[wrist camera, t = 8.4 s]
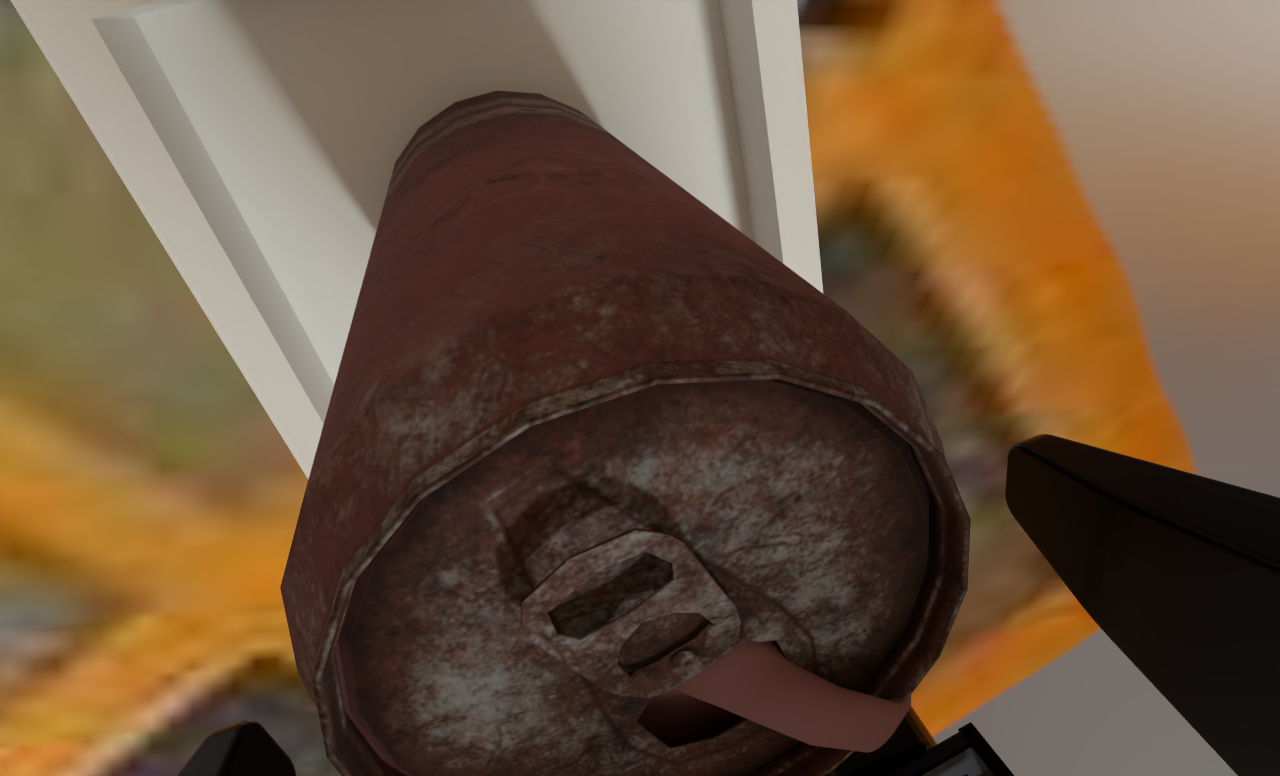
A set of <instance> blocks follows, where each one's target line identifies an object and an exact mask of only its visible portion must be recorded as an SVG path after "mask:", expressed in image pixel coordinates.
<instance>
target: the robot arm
mask: <svg viewBox="0 0 1280 776" xmlns="http://www.w3.org/2000/svg"><path fill="white" fill-rule="evenodd" d="M1005 495H1006V501H1007V505H1008V507H1009V509H1010V511H1011V513H1012V515H1013V516H1014V518H1015V519H1016V520H1017V522H1018V523H1019V524H1020V525H1021V527H1022V528H1023V529H1024V531H1025V532H1026V533H1027V535H1028V536H1029V537H1030V539H1031V540H1032V541H1033V542H1034V544H1035V545H1036V546H1037V548H1038V549H1039V550H1040V552H1041V553H1042V554H1043V556H1044V557H1045V558H1046V559H1047V561H1048V562H1049V563H1050V565H1051V566H1052V567H1053V569H1054V570H1055V571H1056V573H1057V574H1058V575H1059V576H1060V578H1061V579H1062V580H1063V582H1064V583H1065V584H1066V586H1067V587H1068V588H1069V589H1070V591H1071V592H1072V593H1073V595H1074V596H1075V597H1076V599H1077V600H1078V601H1079V603H1080V604H1081V605H1082V606H1083V607H1084V609H1085V610H1086V611H1087V612H1088V614H1089V615H1090V616H1091V617H1092V619H1093V620H1094V621H1095V622H1096V623H1097V624H1098V625H1099V626H1100V628H1101V629H1102V630H1103V631H1104V632H1105V633H1106V634H1107V635H1108V636H1109V638H1110V639H1111V640H1112V641H1113V642H1114V643H1115V644H1116V645H1117V646H1118V647H1119V648H1120V649H1121V650H1122V652H1123V653H1124V654H1125V655H1126V656H1127V657H1128V658H1129V659H1130V660H1131V661H1132V662H1133V663H1134V665H1135V666H1136V667H1137V668H1138V669H1139V670H1140V671H1141V672H1142V673H1143V674H1144V675H1145V676H1146V677H1147V678H1148V680H1149V681H1150V682H1151V683H1152V684H1153V685H1154V686H1155V687H1156V688H1157V689H1158V690H1159V691H1160V692H1161V693H1162V695H1163V696H1164V697H1165V698H1166V699H1167V700H1168V701H1169V702H1170V703H1171V704H1172V705H1173V706H1174V707H1175V709H1177V711H1178V712H1179V713H1180V714H1181V715H1182V716H1183V717H1184V718H1185V719H1186V720H1187V721H1188V722H1189V724H1190V725H1191V726H1192V727H1193V728H1194V729H1195V730H1196V731H1197V732H1198V733H1199V734H1200V735H1201V736H1202V737H1203V739H1204V740H1205V741H1206V742H1207V743H1208V744H1209V745H1210V746H1211V747H1212V748H1213V749H1214V750H1215V751H1216V753H1217V754H1218V755H1219V756H1220V757H1221V758H1222V759H1223V760H1224V761H1225V762H1226V763H1227V764H1228V765H1229V766H1230V768H1231V769H1232V770H1233V771H1234V772H1235V773H1236V774H1237V775H1238V776H1280V498H1279V497H1275V496H1271V495H1268V494H1264V493H1260V492H1256V491H1253V490H1249V489H1246V488H1242V487H1239V486H1235V485H1231V484H1227V483H1224V482H1220V481H1217V480H1213V479H1210V478H1206V477H1202V476H1199V475H1195V474H1191V473H1188V472H1184V471H1180V470H1177V469H1173V468H1170V467H1166V466H1162V465H1159V464H1155V463H1151V462H1148V461H1144V460H1140V459H1137V458H1133V457H1130V456H1126V455H1122V454H1119V453H1115V452H1111V451H1108V450H1104V449H1100V448H1097V447H1093V446H1089V445H1086V444H1082V443H1079V442H1075V441H1071V440H1068V439H1064V438H1060V437H1057V436H1053V435H1048V434H1043V435H1038V436H1035V437H1032V438H1029V439H1026V440H1024V441H1021V442H1018V443H1016V444H1014V445H1013V446H1012V447H1011V449H1010V450H1009V454H1008V464H1007V478H1006V492H1005ZM958 731H959V732H958V733H957V734H955V735H953V736H951V737H950V738H948V739H946V740H944V741H943V742H941V743H939V744H937V743H936V742H935V740H934V739H933V737H932V736H931V734H930V733H929V731H928V730H927V728H926V727H925V725H924V724H923V722H922V721H921V720H920V718H919V717H918V715H917V714H916V712H915V711H914V709H913V708H912V706H911V705H910V707H909V710H908V712H907V713H906V715H905V717H904V718H903V720H902V721H901V723H900V724H899V726H898V727H897V729H896V730H895V732H894V733H893V734H892V736H891V737H890V738H889V739H888V740H887V741H886V743H884V744H883V745H882V746H881V747H880V748H878V749H876V750H875V751H873V752H868V753H867V752H859V751H854V752H853V753H852V754H851V755H850V756H849V757H848V758H846V759H845V760H844V761H843V762H842V763H841V764H840V765H838V766H837V767H836V768H835V769H834V770H832V771H831V772H829V773H827V774H826V775H824V776H1014V775H1013V774H1012V772H1011V771H1010V770H1009V769H1008V767H1007V766H1006V765H1005V764H1004V762H1003V761H1002V760H1001V759H1000V757H999V756H998V755H997V754H996V753H995V752H994V750H993V749H992V748H991V746H990V745H989V744H988V743H987V741H986V740H985V739H984V738H983V736H982V735H981V734H980V733H979V732H978V730H977V729H976V728H975V727H974V726H973V724H972V723H971V722H970V723H968V724H966V725H965V726H963V727H961V728H959V729H958ZM177 776H296V773H295V769H294V765H293V763H292V761H291V759H290V758H289V756H288V755H287V754H286V753H285V752H284V751H283V749H282V748H281V747H280V746H279V745H278V744H277V743H276V741H275V740H274V739H273V738H272V737H271V736H270V735H269V733H268V732H267V731H266V730H265V729H264V728H263V726H262V725H261V724H260V723H258V722H257V721H254V720H251V719H250V720H244V721H241V722H239V723H236V724H233V725H230V726H227V727H225V728H222V729H219V730H217V731H215V732H213V733H211V734H210V735H209V736H208V737H207V738H206V739H205V740H204V741H203V743H202V744H201V745H200V746H199V748H198V749H197V750H196V752H195V753H194V754H193V756H192V757H191V758H190V760H189V761H188V762H187V763H186V765H185V766H184V767H183V769H182V770H181V771H180V773H179V774H178V775H177Z"/></svg>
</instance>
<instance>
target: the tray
mask: <svg viewBox="0 0 1280 776" xmlns="http://www.w3.org/2000/svg"><path fill="white" fill-rule="evenodd" d="M11 2H12V4H13V5H14V7H15V8H16V10H17V12H18V13H19V15H20V17H21V18H22V20H23V21H24V23H25V25H26V26H27V28H28V29H29V31H30V33H31V34H32V36H33V37H34V39H35V41H36V42H37V44H38V45H39V47H40V49H41V50H42V52H43V54H44V55H45V57H46V58H47V60H48V62H49V63H50V65H51V66H52V68H53V70H54V71H55V73H56V74H57V76H58V78H59V79H60V81H61V82H62V84H63V86H64V87H65V89H66V91H67V92H68V94H69V95H70V97H71V99H72V100H73V102H74V103H75V105H76V107H77V108H78V110H79V111H80V113H81V115H82V116H83V118H84V119H85V121H86V123H87V124H88V126H89V128H90V129H91V131H92V132H93V134H94V136H95V137H96V139H97V140H98V142H99V144H100V145H101V147H102V148H103V150H104V152H105V153H106V155H107V156H108V158H109V160H110V161H111V163H112V164H113V166H114V168H115V169H116V171H117V173H118V174H119V176H120V177H121V179H122V181H123V182H124V184H125V185H126V187H127V189H128V190H129V192H130V193H131V195H132V197H133V198H134V200H135V201H136V203H137V205H138V206H139V208H140V210H141V211H142V213H143V214H144V216H145V218H146V219H147V221H148V222H149V224H150V226H151V227H152V229H153V230H154V232H155V234H156V235H157V237H158V238H159V240H160V242H161V243H162V245H163V247H164V248H165V250H166V251H167V253H168V255H169V256H170V258H171V259H172V261H173V263H174V264H175V266H176V267H177V269H178V271H179V272H180V274H181V275H182V277H183V279H184V280H185V282H186V284H187V285H188V287H189V288H190V290H191V292H192V293H193V295H194V296H195V298H196V300H197V301H198V303H199V304H200V306H201V308H202V309H203V311H204V312H205V314H206V316H207V317H208V319H209V321H210V322H211V324H212V325H213V327H214V329H215V330H216V332H217V333H218V335H219V337H220V338H221V340H222V341H223V343H224V345H225V346H226V348H227V349H228V351H229V353H230V354H231V356H232V357H233V359H234V361H235V362H236V364H237V366H238V367H239V369H240V370H241V372H242V374H243V375H244V377H245V378H246V380H247V382H248V383H249V385H250V386H251V388H252V390H253V391H254V393H255V394H256V396H257V398H258V399H259V401H260V403H261V404H262V406H263V407H264V409H265V411H266V412H267V414H268V415H269V417H270V419H271V420H272V422H273V423H274V425H275V427H276V428H277V430H278V431H279V433H280V435H281V436H282V438H283V440H284V441H285V443H286V444H287V446H288V448H289V449H290V451H291V452H292V454H293V456H294V457H295V459H296V460H297V462H298V464H299V465H300V467H301V468H302V470H303V472H304V473H305V475H306V477H307V478H308V480H309V476H310V472H311V469H312V465H313V461H314V458H315V454H316V450H317V447H318V443H319V439H320V436H321V432H322V428H323V425H324V421H325V417H326V414H327V410H328V406H329V403H330V399H331V395H332V392H333V388H334V385H335V381H336V377H337V374H338V370H339V366H340V363H341V359H342V355H343V352H344V348H345V344H346V341H347V337H348V333H349V330H350V326H351V322H352V319H353V315H354V311H355V308H356V304H357V300H358V297H359V293H360V289H361V286H362V282H363V278H364V275H365V271H366V267H367V264H368V260H369V257H370V253H371V249H372V246H373V242H374V238H375V235H376V231H377V227H378V224H379V220H380V216H381V213H382V209H383V205H384V202H385V198H386V194H387V191H388V187H389V183H390V180H391V176H392V172H393V169H394V165H395V162H396V160H397V159H398V158H399V156H400V155H401V153H402V152H403V150H404V149H405V147H406V146H407V144H408V143H409V142H410V140H411V139H412V137H413V136H414V134H415V133H416V131H417V130H418V128H419V127H420V126H422V125H423V124H425V123H426V122H427V121H429V120H430V119H432V118H433V117H434V116H436V115H437V114H439V113H440V112H441V111H443V110H444V109H446V108H447V107H449V106H450V105H451V104H453V103H454V102H457V101H461V100H464V99H468V98H472V97H475V96H479V95H482V94H486V93H490V92H493V91H510V92H524V93H539V94H542V95H544V96H547V97H549V98H551V99H554V100H556V101H559V102H561V103H563V104H566V105H568V106H570V107H573V108H575V109H578V110H579V111H581V112H582V113H583V114H585V115H586V116H587V117H589V118H590V119H591V120H593V121H594V122H595V123H597V124H598V125H599V126H601V127H602V128H603V129H605V130H606V131H607V132H609V133H610V134H611V135H613V136H614V137H615V138H617V139H618V140H619V141H621V142H622V143H623V144H625V145H626V146H627V147H629V148H630V149H631V150H633V151H634V152H635V153H637V154H638V155H639V156H641V157H642V158H643V159H645V160H646V161H647V162H649V163H650V164H651V165H653V166H654V167H655V168H657V169H658V170H659V171H661V172H662V173H663V174H665V175H666V176H667V177H669V178H670V179H671V180H673V181H674V182H675V183H677V184H678V185H679V186H681V187H682V188H683V189H685V190H686V191H687V192H689V193H690V194H691V195H693V196H694V197H695V198H697V199H698V200H699V201H701V202H702V203H703V204H705V205H706V206H707V207H709V208H710V209H711V210H713V211H714V212H715V213H717V214H718V215H719V216H721V217H722V218H723V219H725V220H726V221H727V222H729V223H730V224H731V225H733V226H734V227H735V228H737V229H738V230H739V231H740V232H742V233H743V234H744V235H746V236H747V237H748V238H750V239H751V240H752V241H754V242H755V243H756V244H758V245H759V246H760V247H762V248H763V249H764V250H766V251H767V252H768V253H770V254H771V255H772V256H774V257H775V258H776V259H778V260H779V261H780V262H782V263H783V264H784V265H786V266H787V267H788V268H790V269H791V270H792V271H794V272H795V273H796V274H798V275H799V276H800V277H802V278H803V279H804V280H806V281H807V282H808V283H810V284H811V285H812V286H814V287H815V288H816V289H818V290H819V291H820V292H822V293H823V286H822V275H821V264H820V252H819V241H818V230H817V219H816V208H815V197H814V186H813V175H812V164H811V152H810V141H809V130H808V119H807V108H806V97H805V86H804V75H803V64H802V53H801V41H800V30H799V19H798V8H797V0H11Z"/></svg>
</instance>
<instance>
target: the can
mask: <svg viewBox="0 0 1280 776" xmlns="http://www.w3.org/2000/svg"><path fill="white" fill-rule="evenodd" d="M969 541H970V517H969V515H968V513H967V510H966V508H965V505H964V503H963V501H962V498H961V496H960V493H959V491H958V489H957V486H956V484H955V481H954V479H953V477H952V474H951V472H950V469H949V467H948V465H947V462H946V460H945V455H944V450H943V445H942V442H941V440H940V437H939V435H938V432H937V430H936V427H935V425H934V423H933V420H932V418H931V415H930V413H929V410H928V408H927V406H926V403H925V401H924V398H923V396H922V394H921V391H920V389H919V386H918V384H917V381H916V379H915V377H914V374H913V372H912V371H911V370H910V369H909V368H908V367H907V366H906V365H905V364H904V363H903V362H901V361H900V360H899V359H898V358H897V357H896V356H895V355H894V354H893V353H892V352H891V351H889V350H888V349H887V348H886V347H885V346H884V345H883V344H882V343H881V342H880V341H879V340H878V339H876V338H875V337H874V336H873V335H872V334H871V333H870V332H869V331H868V330H867V329H866V328H864V327H863V326H862V325H861V324H860V323H859V322H858V321H857V320H856V319H855V318H854V317H852V316H851V315H850V314H849V313H848V312H847V311H846V310H844V309H843V308H842V307H840V306H839V305H838V304H836V303H835V302H834V301H832V300H831V299H830V298H828V297H827V296H826V295H824V294H823V293H822V292H820V291H819V290H818V289H816V288H815V287H814V286H812V285H811V284H810V283H808V282H807V281H806V280H804V279H803V278H802V277H800V276H799V275H798V274H796V273H795V272H794V271H792V270H791V269H790V268H788V267H787V266H786V265H784V264H783V263H782V262H780V261H779V260H778V259H776V258H775V257H774V256H772V255H771V254H770V253H768V252H767V251H766V250H764V249H763V248H762V247H760V246H759V245H758V244H756V243H755V242H754V241H752V240H751V239H750V238H748V237H747V236H746V235H744V234H743V233H742V232H740V231H739V230H738V229H737V228H735V227H734V226H733V225H731V224H730V223H729V222H727V221H726V220H725V219H723V218H722V217H721V216H719V215H718V214H717V213H715V212H714V211H713V210H711V209H710V208H709V207H707V206H706V205H705V204H703V203H702V202H701V201H699V200H698V199H697V198H695V197H694V196H693V195H691V194H690V193H689V192H687V191H686V190H685V189H683V188H682V187H681V186H679V185H678V184H677V183H675V182H674V181H673V180H671V179H670V178H669V177H667V176H666V175H665V174H663V173H662V172H661V171H659V170H658V169H657V168H655V167H654V166H653V165H651V164H650V163H649V162H647V161H646V160H645V159H643V158H642V157H641V156H639V155H638V154H637V153H635V152H634V151H633V150H631V149H630V148H629V147H627V146H626V145H625V144H623V143H622V142H621V141H619V140H618V139H617V138H615V137H614V136H613V135H611V134H610V133H609V132H607V131H606V130H605V129H603V128H602V127H601V126H599V125H598V124H597V123H595V122H594V121H593V120H591V119H590V118H589V117H587V116H586V115H585V114H583V113H582V112H581V111H579V110H578V109H575V108H573V107H570V106H568V105H566V104H563V103H561V102H559V101H556V100H554V99H551V98H549V97H547V96H544V95H542V94H539V93H524V92H510V91H493V92H490V93H486V94H482V95H479V96H475V97H472V98H468V99H464V100H461V101H457V102H454V103H453V104H451V105H450V106H449V107H447V108H446V109H444V110H443V111H441V112H440V113H439V114H437V115H436V116H434V117H433V118H432V119H430V120H429V121H427V122H426V123H425V124H423V125H422V126H420V127H419V128H418V130H417V131H416V133H415V134H414V136H413V137H412V139H411V140H410V142H409V143H408V144H407V146H406V147H405V149H404V150H403V152H402V153H401V155H400V156H399V158H398V159H397V160H396V162H395V165H394V169H393V172H392V176H391V180H390V183H389V187H388V191H387V194H386V198H385V202H384V205H383V209H382V213H381V216H380V220H379V224H378V227H377V231H376V235H375V238H374V242H373V246H372V249H371V253H370V257H369V260H368V264H367V267H366V271H365V275H364V278H363V282H362V286H361V289H360V293H359V297H358V300H357V304H356V308H355V311H354V315H353V319H352V322H351V326H350V330H349V333H348V337H347V341H346V344H345V348H344V352H343V355H342V359H341V363H340V366H339V370H338V374H337V377H336V381H335V385H334V388H333V392H332V395H331V399H330V403H329V406H328V410H327V414H326V417H325V421H324V425H323V428H322V432H321V436H320V439H319V443H318V447H317V450H316V454H315V458H314V461H313V465H312V469H311V472H310V476H309V480H308V483H307V487H306V491H305V495H304V498H303V502H302V506H301V510H300V514H299V518H298V522H297V526H296V529H295V533H294V537H293V541H292V545H291V549H290V553H289V557H288V560H287V564H286V568H285V572H284V576H283V580H282V584H281V593H282V598H283V603H284V607H285V612H286V617H287V622H288V627H289V632H290V636H291V641H292V646H293V651H294V656H295V661H296V665H297V670H298V674H299V675H300V677H301V679H302V681H303V683H304V685H305V687H306V688H307V690H308V692H309V694H310V696H311V698H312V700H313V701H314V703H315V705H316V707H317V709H318V713H319V718H320V723H321V729H322V734H323V739H324V744H325V749H326V754H327V758H328V759H329V760H330V762H331V763H332V764H333V765H334V767H335V768H336V769H337V770H338V771H339V773H340V774H341V775H342V776H824V775H826V774H827V773H829V772H831V771H832V770H834V769H835V768H836V767H837V766H838V765H840V764H841V763H842V762H843V761H844V760H845V759H846V758H848V757H849V756H850V755H851V754H852V753H853V752H854V751H859V752H867V753H868V752H873V751H875V750H876V749H878V748H880V747H881V746H882V745H883V744H884V743H886V741H887V740H888V739H889V738H890V737H891V736H892V734H893V733H894V732H895V730H896V729H897V727H898V726H899V724H900V723H901V721H902V720H903V718H904V717H905V715H906V713H907V712H908V710H909V707H910V704H911V694H912V692H913V691H914V690H915V688H916V687H917V686H918V684H919V683H920V682H921V680H922V679H923V678H924V676H925V675H926V674H927V672H928V671H929V670H930V668H931V667H932V666H933V664H934V663H935V662H936V660H937V659H938V658H939V656H940V654H941V652H942V650H943V647H944V645H945V642H946V640H947V637H948V635H949V632H950V630H951V628H952V625H953V623H954V620H955V618H956V615H957V613H958V611H959V608H960V606H961V603H962V601H963V598H964V596H965V593H966V591H967V585H968V563H969Z"/></svg>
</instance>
